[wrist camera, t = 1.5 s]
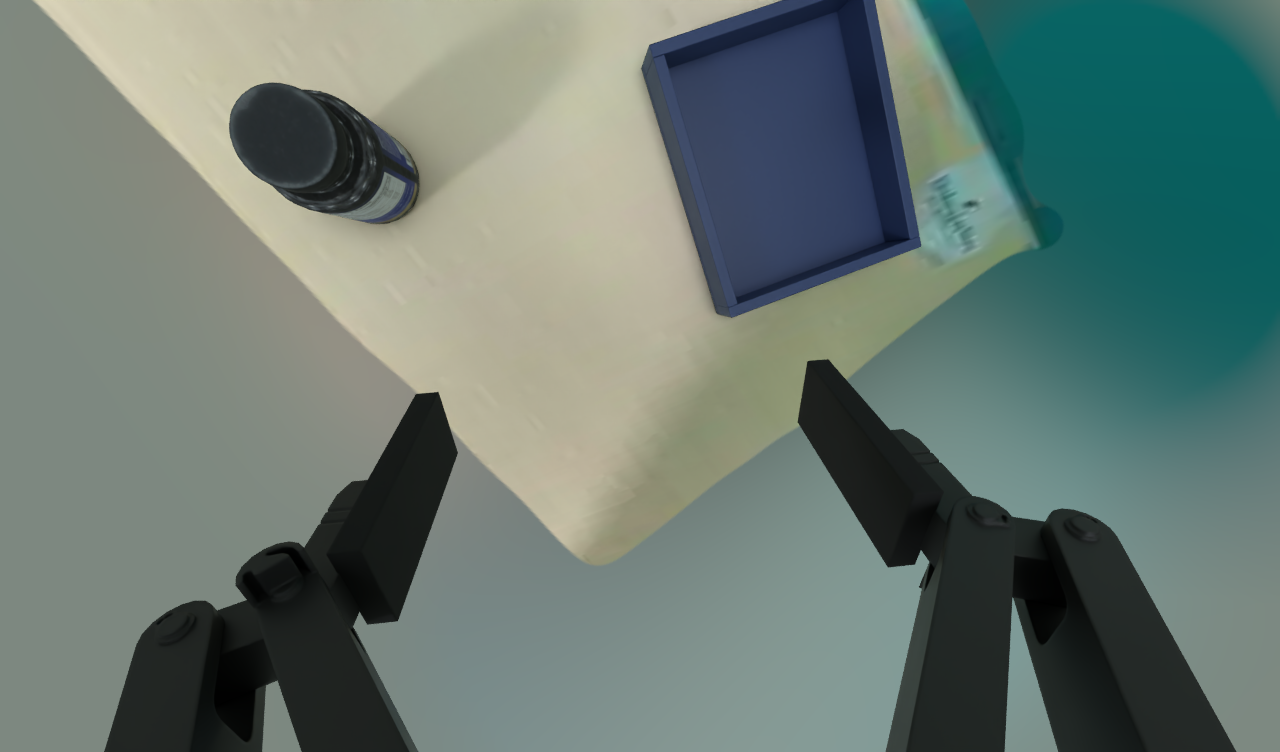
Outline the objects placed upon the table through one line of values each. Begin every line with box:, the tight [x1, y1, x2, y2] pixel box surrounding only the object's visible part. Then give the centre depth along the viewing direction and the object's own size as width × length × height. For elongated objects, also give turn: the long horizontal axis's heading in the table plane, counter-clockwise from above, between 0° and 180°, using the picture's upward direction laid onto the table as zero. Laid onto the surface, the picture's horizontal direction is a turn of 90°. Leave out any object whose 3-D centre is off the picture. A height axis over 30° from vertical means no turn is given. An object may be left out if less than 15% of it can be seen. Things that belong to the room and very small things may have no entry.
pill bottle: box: [229, 83, 419, 224], centre depth 28 cm, size 6×6×11 cm
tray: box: [641, 0, 921, 318], centre depth 35 cm, size 19×16×4 cm
